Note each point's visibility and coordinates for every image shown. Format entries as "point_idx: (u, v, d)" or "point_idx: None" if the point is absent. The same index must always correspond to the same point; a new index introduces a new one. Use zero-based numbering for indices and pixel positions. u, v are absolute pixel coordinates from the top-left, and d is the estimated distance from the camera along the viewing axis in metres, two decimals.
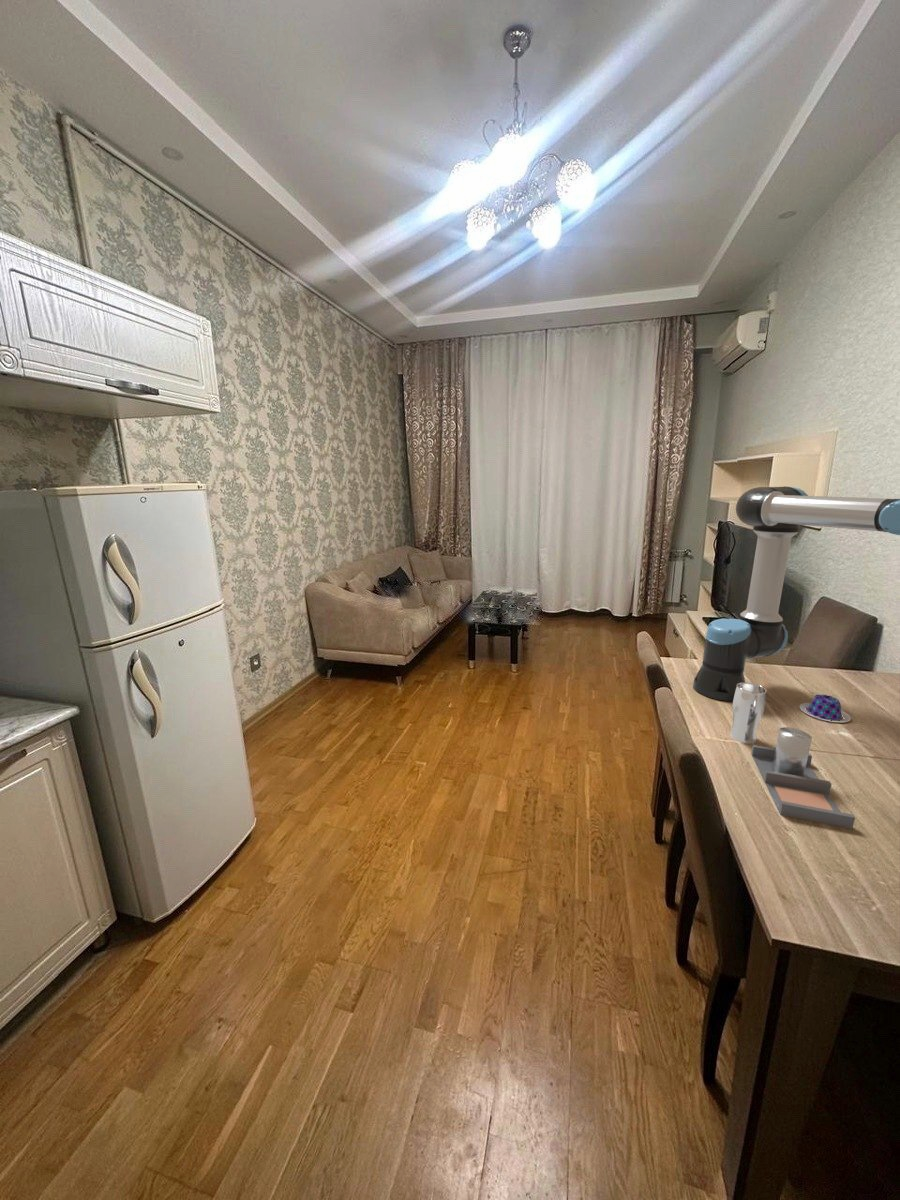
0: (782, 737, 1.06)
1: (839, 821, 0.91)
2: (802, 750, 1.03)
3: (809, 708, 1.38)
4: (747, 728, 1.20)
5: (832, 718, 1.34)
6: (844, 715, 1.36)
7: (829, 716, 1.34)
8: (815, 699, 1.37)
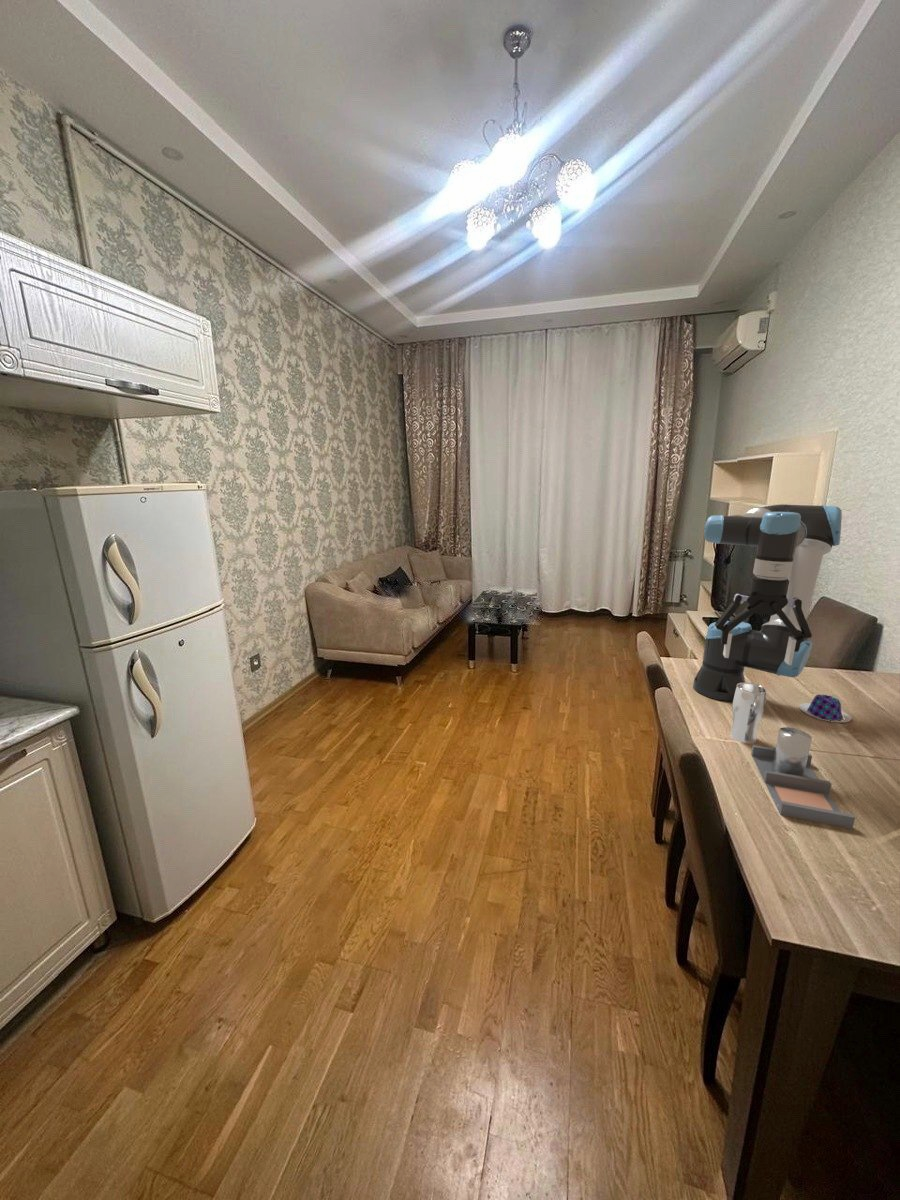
0: (782, 737, 1.06)
1: (839, 821, 0.91)
2: (802, 750, 1.03)
3: (809, 708, 1.38)
4: (747, 728, 1.20)
5: (832, 718, 1.34)
6: (844, 715, 1.36)
7: (829, 716, 1.34)
8: (815, 699, 1.37)
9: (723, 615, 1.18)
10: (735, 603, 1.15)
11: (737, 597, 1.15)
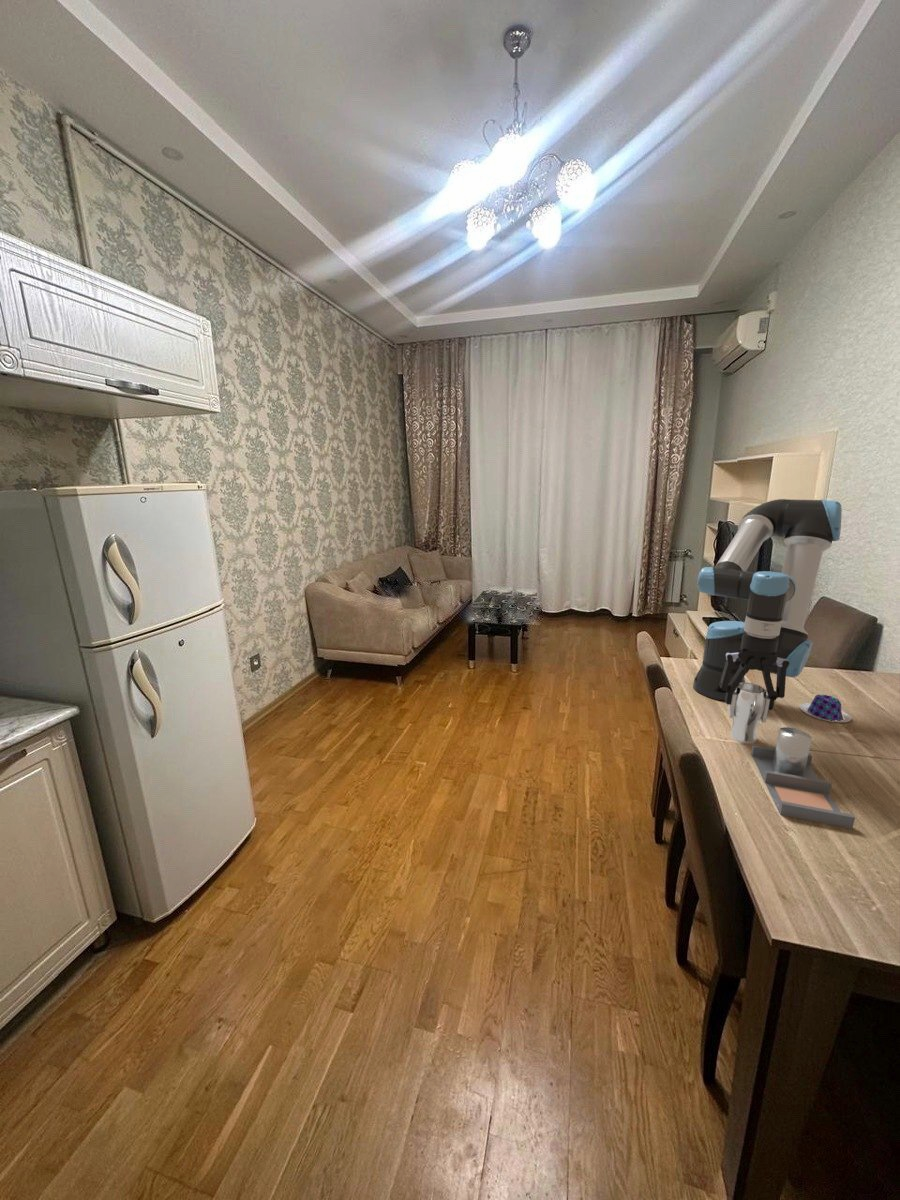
0: (782, 737, 1.06)
1: (839, 821, 0.91)
2: (802, 750, 1.03)
3: (810, 708, 1.38)
4: (747, 728, 1.20)
5: (833, 718, 1.34)
6: (844, 715, 1.36)
7: (830, 716, 1.34)
8: (816, 699, 1.37)
9: (723, 676, 1.21)
10: (728, 662, 1.19)
11: (728, 657, 1.19)
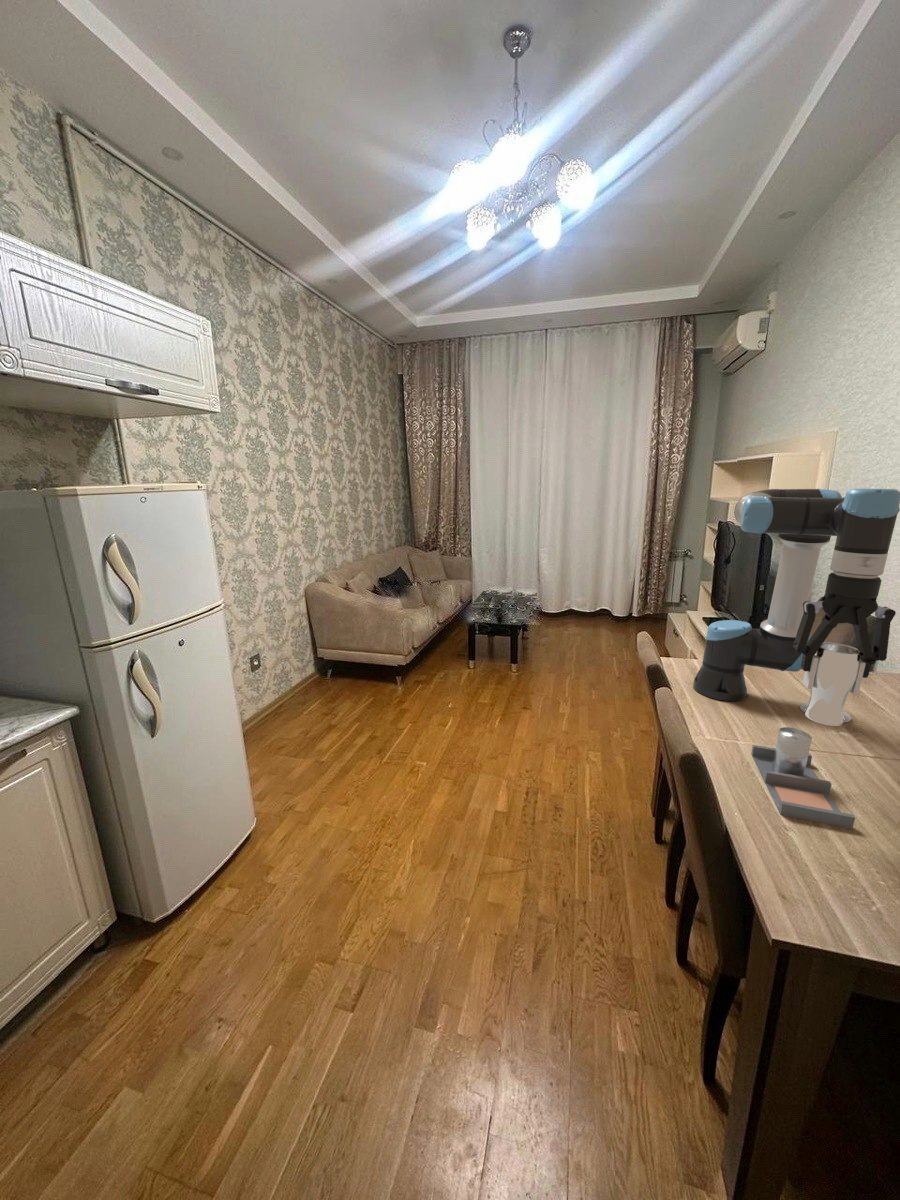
0: (782, 737, 1.06)
1: (839, 821, 0.91)
2: (802, 750, 1.03)
3: None
4: (833, 702, 0.90)
5: None
6: (843, 714, 1.36)
7: None
8: None
9: (799, 633, 0.91)
10: (809, 614, 0.89)
11: (808, 607, 0.89)
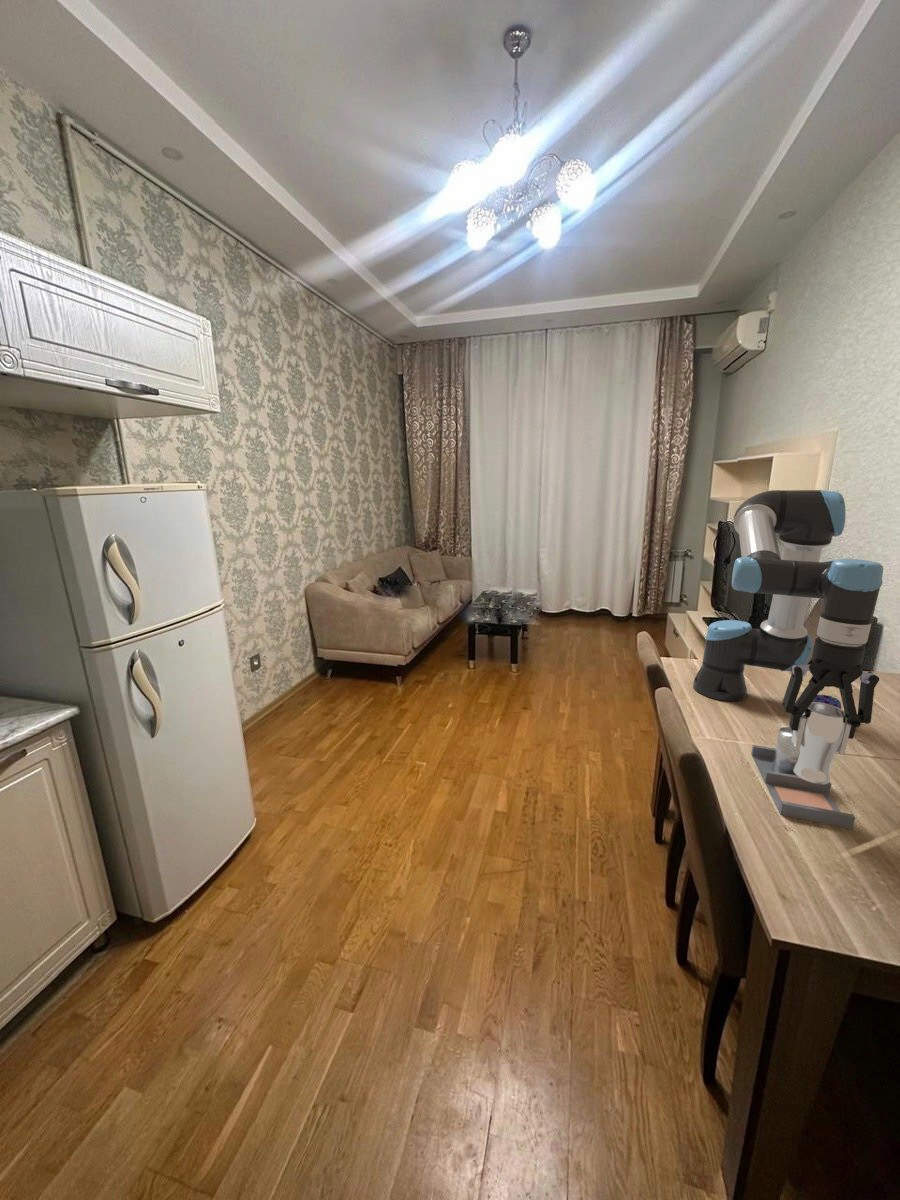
0: (782, 737, 1.06)
1: (839, 821, 0.91)
2: None
3: None
4: (820, 761, 0.93)
5: None
6: None
7: None
8: (816, 700, 1.37)
9: (788, 694, 0.94)
10: (796, 677, 0.92)
11: (796, 670, 0.92)
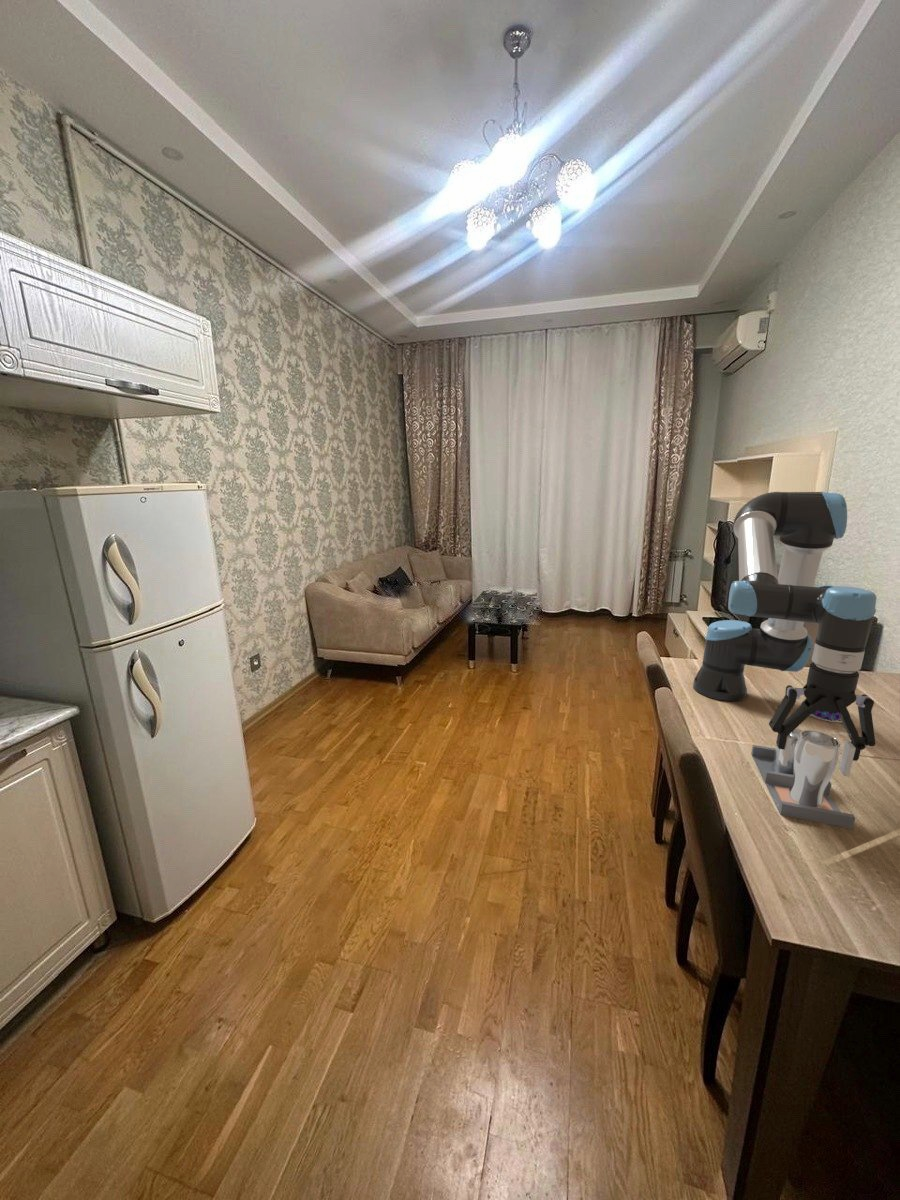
0: None
1: (839, 821, 0.91)
2: None
3: None
4: (813, 789, 0.95)
5: (835, 718, 1.33)
6: None
7: (832, 716, 1.34)
8: None
9: (777, 714, 0.96)
10: (790, 699, 0.93)
11: (791, 692, 0.93)
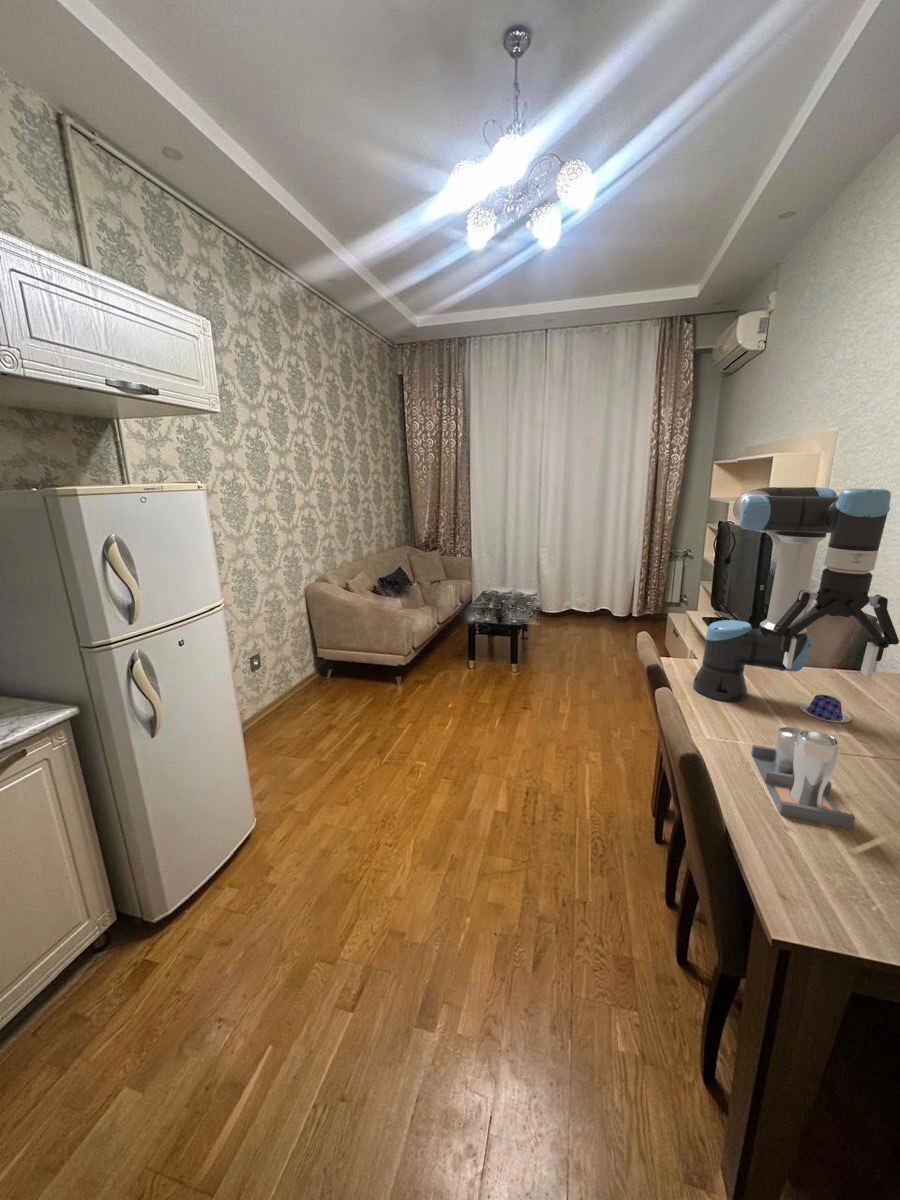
0: (782, 737, 1.06)
1: (839, 821, 0.91)
2: None
3: (811, 710, 1.38)
4: (813, 788, 0.95)
5: (836, 718, 1.33)
6: (842, 713, 1.37)
7: (833, 716, 1.34)
8: (817, 700, 1.36)
9: (785, 617, 0.96)
10: (802, 602, 0.94)
11: (804, 595, 0.93)
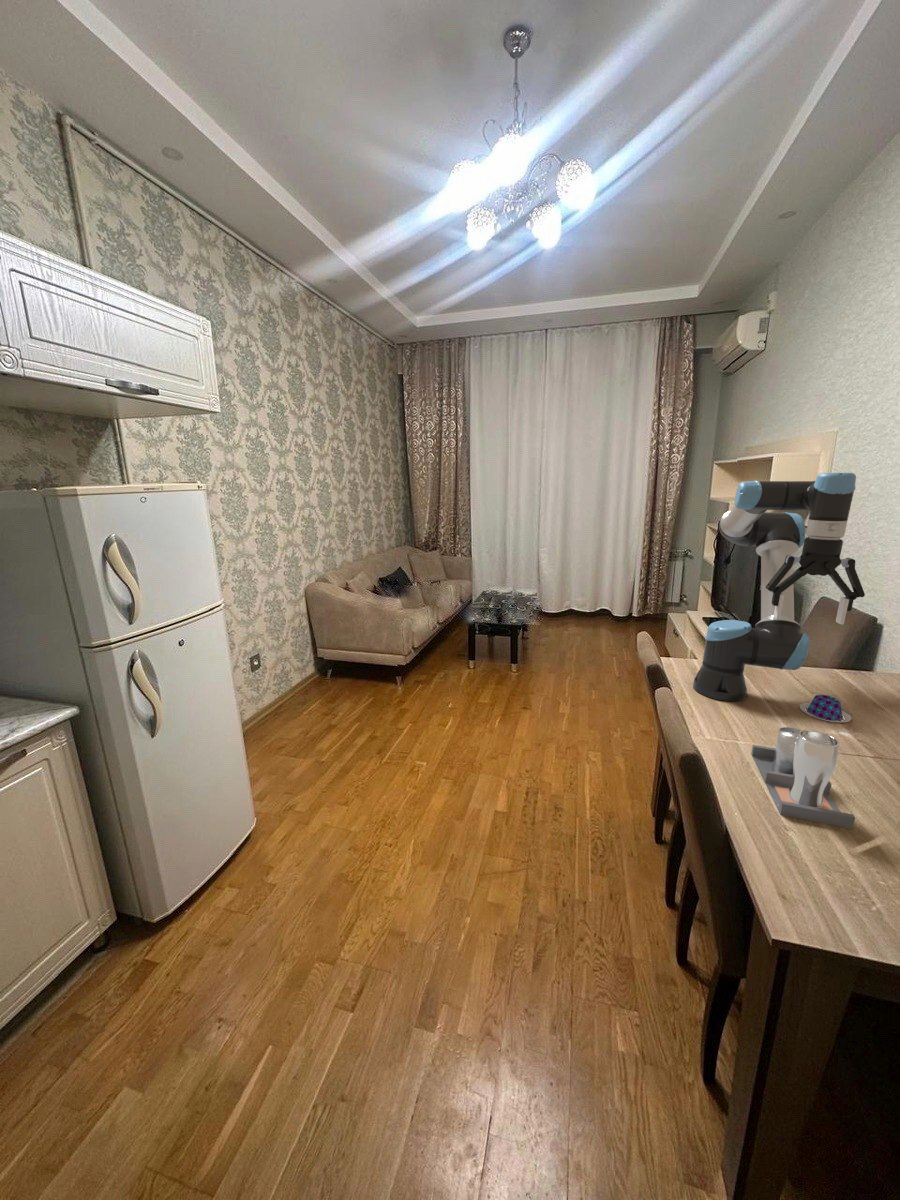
0: (782, 737, 1.06)
1: (839, 821, 0.91)
2: None
3: (811, 710, 1.37)
4: (813, 788, 0.95)
5: (836, 718, 1.33)
6: (841, 713, 1.37)
7: (834, 716, 1.34)
8: (817, 700, 1.36)
9: (775, 577, 1.20)
10: (788, 564, 1.17)
11: (790, 558, 1.17)
